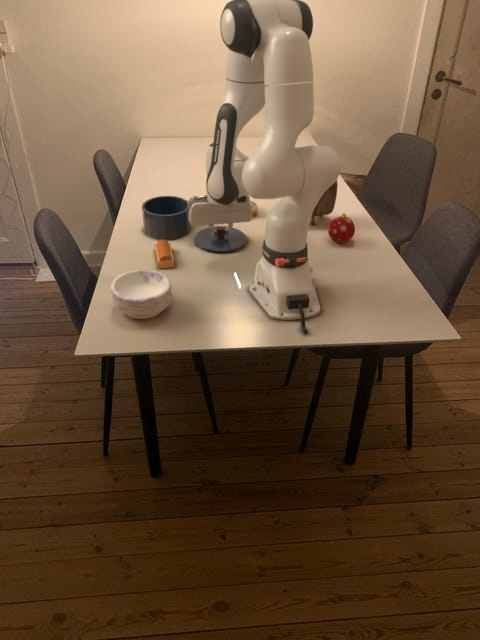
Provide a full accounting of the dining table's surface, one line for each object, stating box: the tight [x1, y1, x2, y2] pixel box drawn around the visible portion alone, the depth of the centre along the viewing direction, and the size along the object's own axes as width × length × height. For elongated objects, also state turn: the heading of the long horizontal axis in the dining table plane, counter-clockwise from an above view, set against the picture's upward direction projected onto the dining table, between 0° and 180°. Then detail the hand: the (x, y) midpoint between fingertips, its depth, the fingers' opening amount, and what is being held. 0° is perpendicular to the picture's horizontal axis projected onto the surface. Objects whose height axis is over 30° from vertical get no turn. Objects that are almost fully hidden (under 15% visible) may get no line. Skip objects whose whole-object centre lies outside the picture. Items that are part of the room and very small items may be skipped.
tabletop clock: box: [310, 179, 338, 226], centre depth 164 cm, size 14×9×25 cm, turn 108°
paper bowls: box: [110, 269, 173, 320], centre depth 126 cm, size 15×15×8 cm
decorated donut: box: [250, 199, 259, 217], centre depth 176 cm, size 10×11×4 cm
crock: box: [141, 195, 192, 241], centre depth 163 cm, size 16×16×8 cm
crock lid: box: [194, 225, 247, 253], centre depth 158 cm, size 17×17×5 cm
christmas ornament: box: [327, 212, 356, 244], centre depth 158 cm, size 9×9×10 cm
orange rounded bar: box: [154, 239, 175, 270], centre depth 148 cm, size 11×5×4 cm, turn 13°
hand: (220, 234), depth 158 cm, fingers closed on crock lid, 3 cm apart
